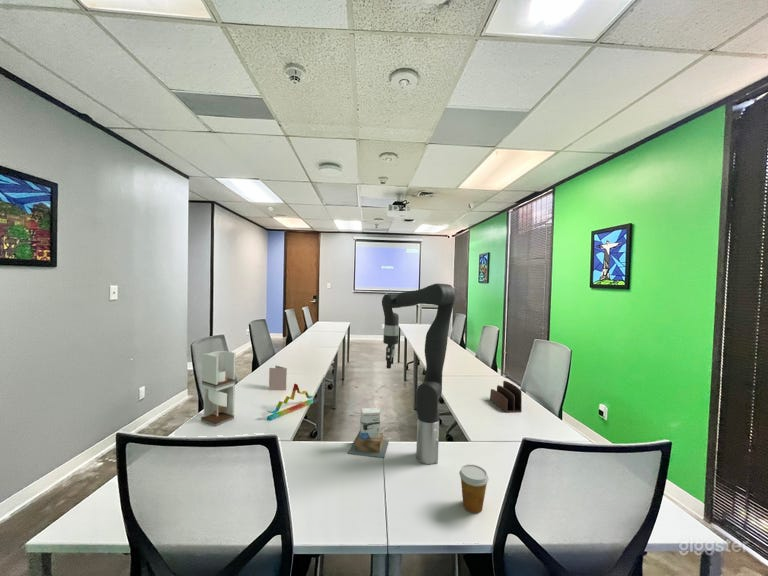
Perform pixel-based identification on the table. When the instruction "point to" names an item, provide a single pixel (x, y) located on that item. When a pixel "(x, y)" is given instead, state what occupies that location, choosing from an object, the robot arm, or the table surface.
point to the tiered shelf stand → (218, 387)
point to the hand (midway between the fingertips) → (390, 366)
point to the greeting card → (277, 378)
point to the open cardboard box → (369, 443)
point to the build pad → (371, 454)
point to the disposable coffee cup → (473, 487)
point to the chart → (291, 409)
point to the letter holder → (507, 397)
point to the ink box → (370, 423)
